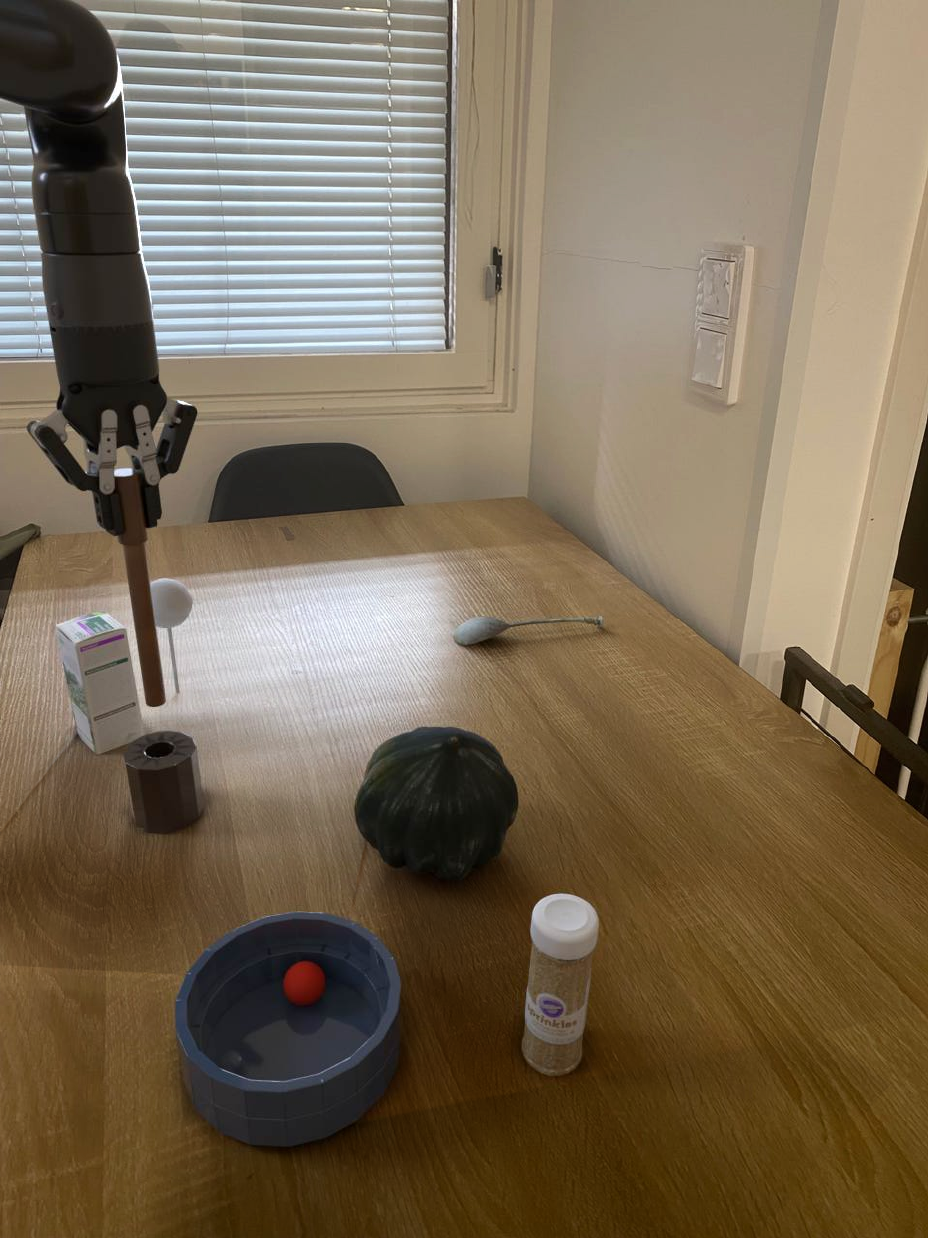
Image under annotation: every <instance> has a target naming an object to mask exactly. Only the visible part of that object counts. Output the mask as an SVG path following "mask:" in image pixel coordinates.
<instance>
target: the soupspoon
mask: <svg viewBox="0 0 928 1238" xmlns="http://www.w3.org/2000/svg"><path fill="white" fill-rule="evenodd" d="M578 622H579V623H581V624H584V623H586V624H588V625H593V626H597V628H598V629H601V628H602V627H603V625H604V618H603V616H601V615H599V616H598V618H597V617H594V618H593V617H587V618H585V617H584V616H582V617H581V618H579V617H571V618H570V617H564V618H561V617H560V618H545V619H530V620H529V619H528V620H527V619H526V620H520V621H513V622H506V621H504V620H502V619H500V618H497V617H493V616H489V615H487V616H486V615H483V616H481V615H480V616H476V617H472V618H470V619H468V620H465V621H464V622H463V623H461V624H460V625H459V626H458V627H457V628H456V629H455V630H454V632H453V635H452V638H453V641H454V642H455V643H456V644H458V645H461V646H471V645H474V644H478V643H481V642H483V641H487V640H488V639H491V638H493V637H495V636H499V634H501V633H503V632H505V631H507V630H509V628H516V627H521V626H529V625H537V624H538V625H539V624H555V623H556V624H557V623H578Z"/></svg>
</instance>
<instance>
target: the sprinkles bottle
mask: <svg viewBox="0 0 928 1238" xmlns="http://www.w3.org/2000/svg"><path fill="white" fill-rule="evenodd" d="M530 920H531V921H530V931H529V932H530V937H531V949H530V951H531V952H530V962H529V971H528V983H527V987H526V996H525V1007H524V1032H523V1037H522V1040H521V1052H522V1055H523V1057H524V1059H525V1061H526V1063H527V1064H528V1065H529V1066H530V1067H531V1068H532V1069H534V1070H535V1071H536V1072H538V1073H540V1074H542V1075H545V1076H549V1077H560V1076H564V1075H568V1074H569V1073H570V1072H573V1070H575V1069H576V1068H577V1067H578V1065H579V1064H580V1063H581V1060H582V1057H583V1038H584V1030H585V1027H586V1020H587V1011H588V1004H589V994H590V987H591V978H592V963H593V956H594V951H595V949H596V946H597V942H598V937H599V927H600V920H599V916H598V913H597V911H596V909H595V908H594V907H593V906H592V904H590V903H589V902H588V901H587V900H586V899H584V898H581V897H579V896H577V895H574V894H569V893H555V894H550V895H547V896H545V897H543V898H541V899H540V900H539V901H538V902H537V903H536V904H535V905H534V908H533V910H532V913H531V919H530ZM570 1074H571V1073H570Z"/></svg>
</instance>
